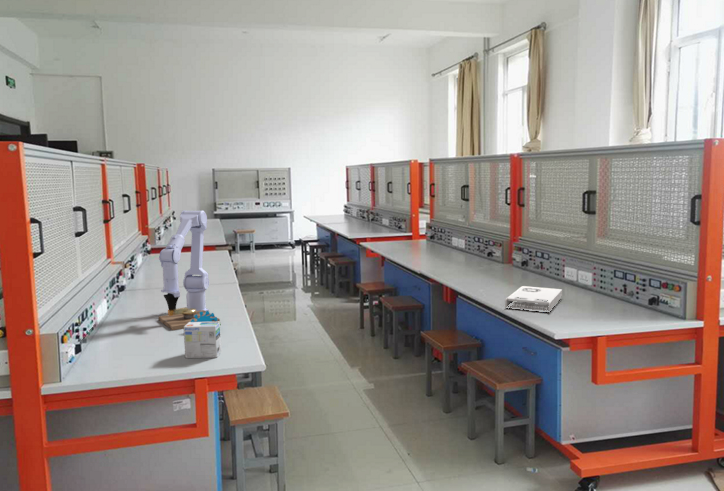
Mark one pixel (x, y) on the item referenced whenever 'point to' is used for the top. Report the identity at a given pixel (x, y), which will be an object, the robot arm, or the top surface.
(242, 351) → the top surface
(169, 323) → the board
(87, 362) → the top surface
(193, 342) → the light bulb box
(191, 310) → the lever handle
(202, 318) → the gear
